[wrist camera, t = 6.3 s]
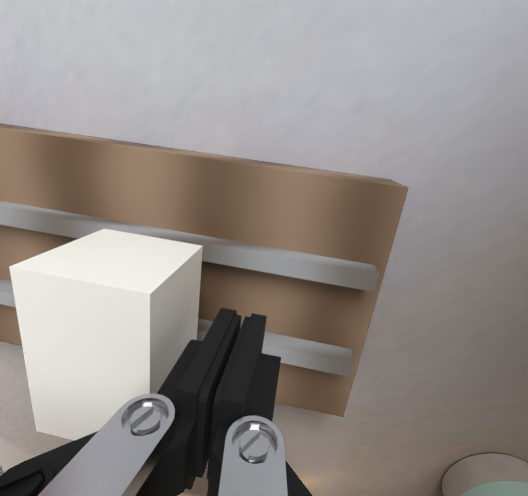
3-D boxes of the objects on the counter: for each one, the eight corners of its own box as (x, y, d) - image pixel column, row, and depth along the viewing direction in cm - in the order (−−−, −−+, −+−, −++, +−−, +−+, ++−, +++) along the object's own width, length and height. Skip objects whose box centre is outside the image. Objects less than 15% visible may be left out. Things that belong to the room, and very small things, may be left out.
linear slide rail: (390, 179, 15) (416, 191, 11) (338, 376, 19) (344, 433, 15) (-109, 107, 18) (-223, 97, 14) (-61, 292, 22) (-139, 324, 18)
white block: (218, 231, 13) (149, 293, 8) (208, 344, 15) (149, 459, 10) (132, 217, 14) (8, 266, 8) (134, 329, 16) (36, 430, 10)
